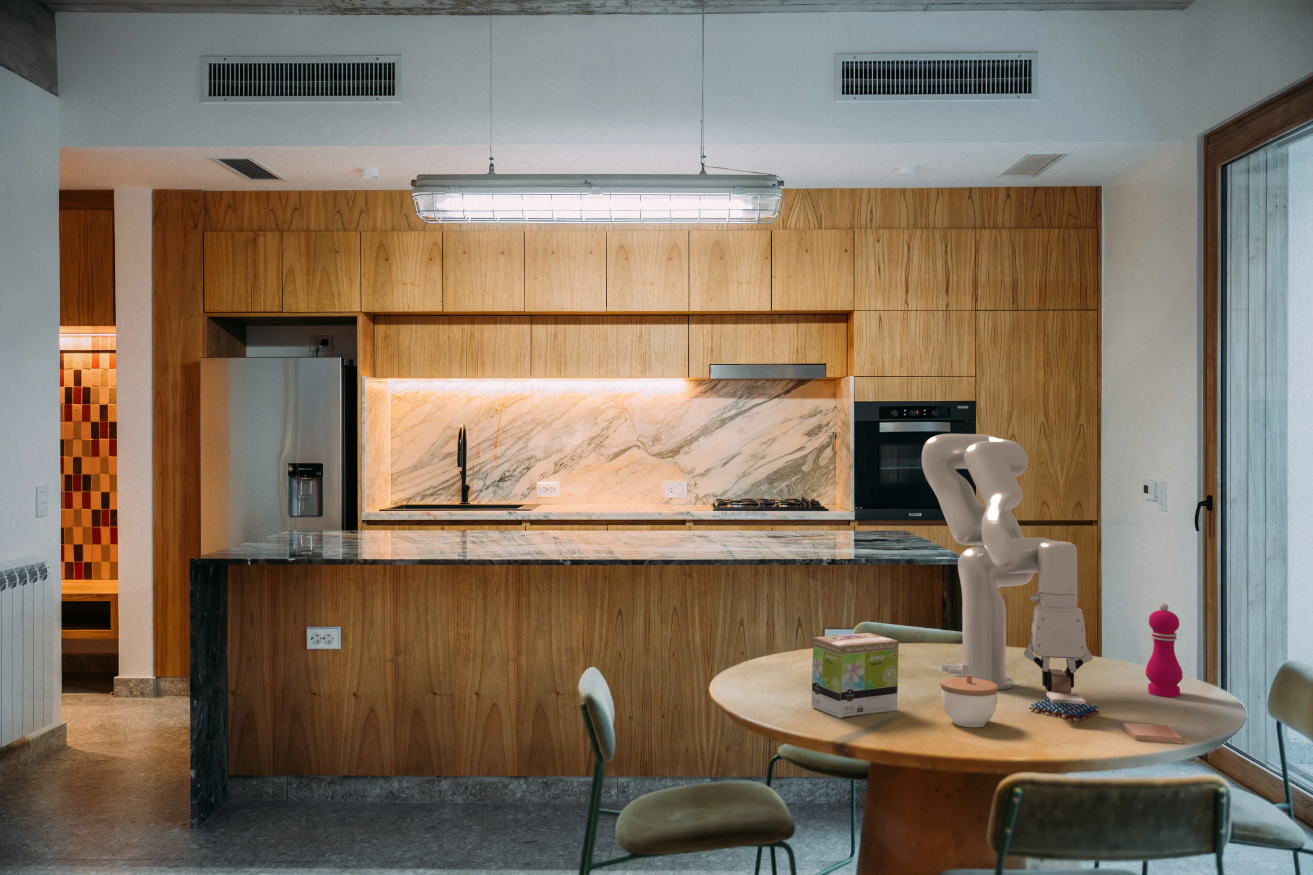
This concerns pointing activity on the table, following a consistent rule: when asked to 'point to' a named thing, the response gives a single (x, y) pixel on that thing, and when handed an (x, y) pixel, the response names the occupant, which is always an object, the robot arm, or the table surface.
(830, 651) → the tea box
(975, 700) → the lidded jar
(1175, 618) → the pepper mill
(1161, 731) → the tile
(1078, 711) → the woven mat
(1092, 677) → the table surface
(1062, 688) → the turner
